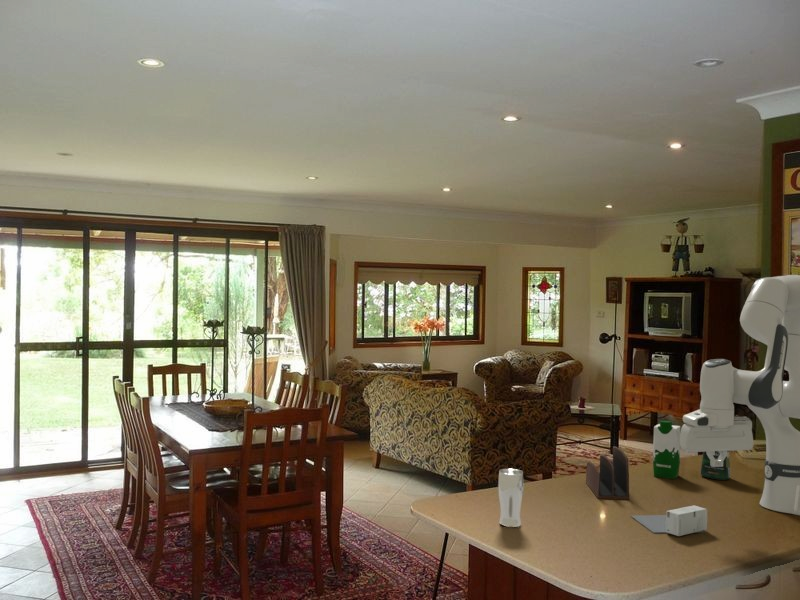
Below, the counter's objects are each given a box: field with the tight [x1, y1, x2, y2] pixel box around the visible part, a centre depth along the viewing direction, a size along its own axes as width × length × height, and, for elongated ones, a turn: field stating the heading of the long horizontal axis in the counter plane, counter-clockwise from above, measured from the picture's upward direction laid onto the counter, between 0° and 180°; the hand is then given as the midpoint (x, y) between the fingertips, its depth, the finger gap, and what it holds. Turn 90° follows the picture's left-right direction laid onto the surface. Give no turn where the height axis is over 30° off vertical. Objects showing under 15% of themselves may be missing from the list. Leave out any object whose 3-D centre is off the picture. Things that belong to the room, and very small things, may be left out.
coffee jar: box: [700, 451, 731, 481], centre depth 264 cm, size 10×8×19 cm
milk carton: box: [652, 419, 681, 480], centre depth 266 cm, size 9×9×20 cm
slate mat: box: [630, 514, 707, 534], centre depth 209 cm, size 15×15×1 cm
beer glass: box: [497, 468, 524, 527], centre depth 206 cm, size 7×7×15 cm
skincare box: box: [665, 504, 708, 537], centre depth 202 cm, size 6×4×12 cm
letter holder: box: [585, 446, 630, 501], centre depth 244 cm, size 10×20×14 cm, turn 177°
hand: (716, 466), depth 208 cm, fingers closed
